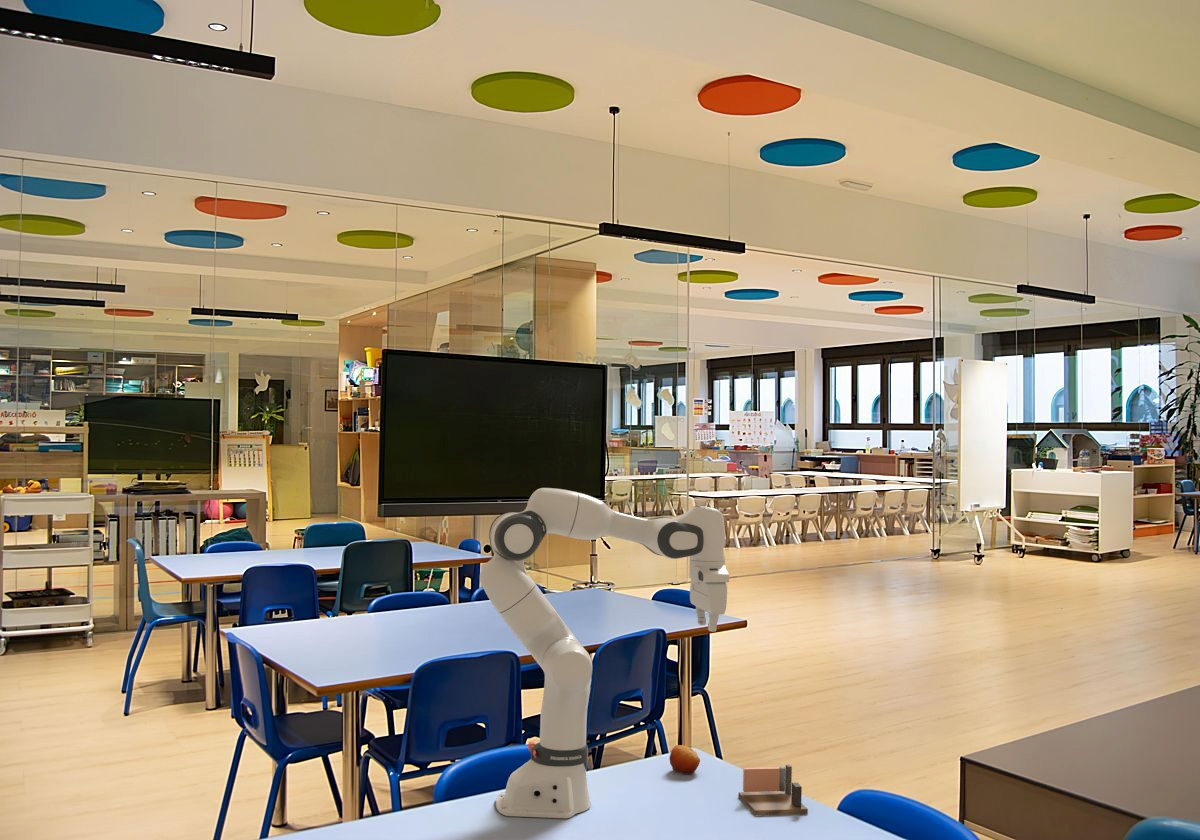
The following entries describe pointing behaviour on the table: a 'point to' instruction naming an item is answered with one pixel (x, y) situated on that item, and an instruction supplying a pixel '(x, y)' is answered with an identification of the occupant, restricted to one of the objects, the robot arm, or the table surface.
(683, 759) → the fruit
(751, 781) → the gate
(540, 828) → the table surface
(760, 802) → the gate frame
